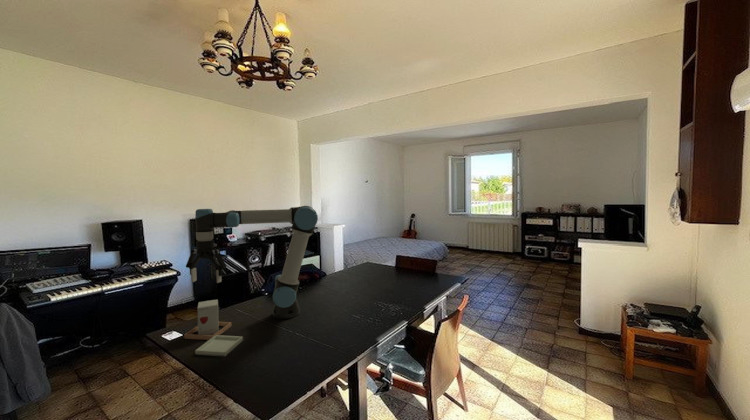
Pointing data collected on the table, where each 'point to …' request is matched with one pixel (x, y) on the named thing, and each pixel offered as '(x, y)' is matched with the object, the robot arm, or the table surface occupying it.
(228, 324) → the frame
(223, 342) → the tray
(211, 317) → the supplement box
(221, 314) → the table surface
